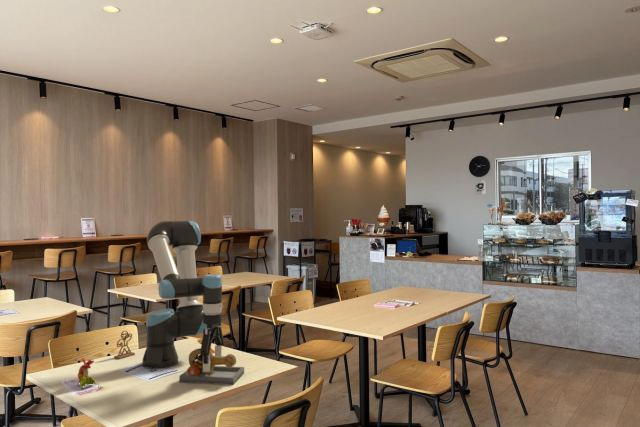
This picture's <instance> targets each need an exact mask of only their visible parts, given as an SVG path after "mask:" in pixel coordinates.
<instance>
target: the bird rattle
mask: <svg viewBox="0 0 640 427" xmlns="http://www.w3.org/2000/svg"><path fill="white" fill-rule="evenodd" d="M80 360H81V361H82V362H83V364H82V365H80V366H79V369H78V373H77V379H78V380H77V381H78V384H79V383H80V385H79V387H80V388H82V387H83V386H84V387H85V386H86V385H88V384H93V385H96V384H97V383H96V382H95V379H94V378H93V377H92V376H89V369H91V368H92V367H91V365H92V364H93V363H94V362H95V360H92V359H89V360H87V361H86V359H85V358H84V357H82V358H81V359H80Z"/></svg>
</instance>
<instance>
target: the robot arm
mask: <svg viewBox="0 0 640 427" xmlns="http://www.w3.org/2000/svg"><path fill="white" fill-rule="evenodd" d="M201 241H202V233H201V229H200V227H199V225H198V223H197V222H196V221H193V220H175V221H174V220H164V221H160V222H157V223H156V224H154V225H153V226H152V227H151V229H150V230H149V231H148V234H147V236H146V244H147V246H148V249H149V250H150V251H151V252H152V254H153V255H152V256H153V257H154V261H155V264H156V268H157V270H158V274H159V277H160V281H159V283H158V289H157V290H158V295H159V297H160V298H161V299H164V300H166V299H177V298H178V299H179V304H178V306H177V307H176V310H174V309H173V308H161V309H157V310H154V311H151V312H150V313H148V314H147V316H146V322H145V323H146V324H145V327H146V348H145V350H144V354H143V358H142V366H143V367H144V368H146V367H148V368H147V369H164V368H169V367H172V366H175V365H177V364H178V363H179V355H178V353H177V352H178V351H177V350H176V345H175V339H178V338H185V337H192V336H194V337H195V336H198V335H199V336H200V335H202V338H201V340H202V345H200V348H201V352H200V354H199V355H203V372H210V355H209V352H210V348H212V343H213V341H214V343H215V346H214V351H215V353H214V356H223V349H222V347H223V346H224V345H225V340H224V334H223V329H222V322H223V319H222V318H223V313H222V311H223V310H222V309H223V308H224V305H223V304H222V303H223V280H222V279H223V278H222V275H220V274H216V273H215V274H211V273H210V274H205V275H203V276H197V263H196V255H195V254H196V252H195V251H197V249H198V246H199V245H200V244H201ZM171 248H172V250H171ZM172 251H173V252H174V253H175V254H176V255H175V258H176V259H174V256H173V253H172ZM175 260H176V261H175ZM199 297H202V302H200V300H199V299H200V298H199Z"/></svg>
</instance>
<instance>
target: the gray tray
mask: <svg viewBox="0 0 640 427" xmlns="http://www.w3.org/2000/svg"><path fill="white" fill-rule="evenodd" d="M213 370H214V373H213V374H212V375H210V376H208V375H207V374H199V375H198V376H191V375H188V373H187V371H188V369H186V370H185V371H184V372H182V374H180V375H179V383H188V384H189V383H190V384H191V383H192V384H208V385H210V384H211V385H231V386H234V385H235V384H236V382H238V381H239V379H240V378H241V377H242V376H243V375H244V374H245V366H232V367H227V366H226V365H215V367H214V369H213Z"/></svg>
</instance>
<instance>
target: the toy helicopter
mask: <svg viewBox="0 0 640 427" xmlns="http://www.w3.org/2000/svg"><path fill="white" fill-rule="evenodd" d="M197 343H199V344H200V346H202V339H198V340H197ZM200 352H201V347H200V348H196V349H194V350H192V351H191V352H190V353H189V354H188V364H189V367H188V368H187V370H188V371H187V370H186V371H187V373H188V375H191V376H198V375H199V374H207V375H208V376H210V375H212V374H213V373H214V370H213V369H214V367H215V366H227V367H235V365H236V364H237V358H236V356H235V355H234V354H232V353H228V354H227V355H225V356H224V355H222V356H215V355H214V354H215V349H213V348H212V347H211V348H210V352H209V355H210V372H203V355H200Z"/></svg>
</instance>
